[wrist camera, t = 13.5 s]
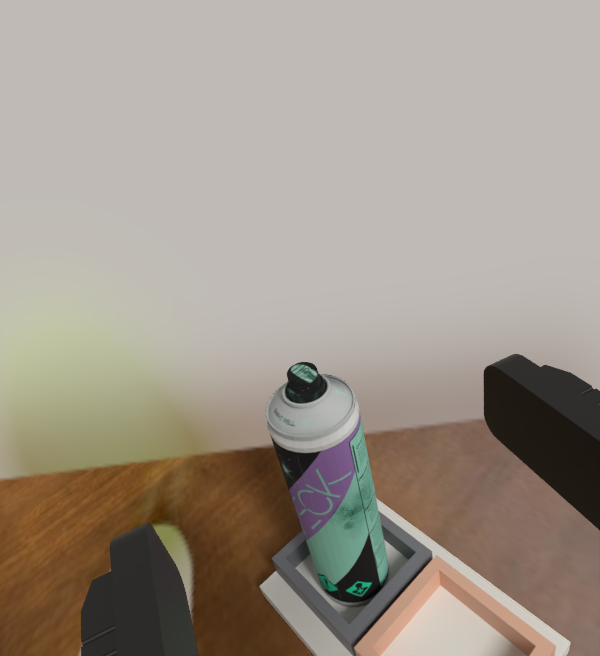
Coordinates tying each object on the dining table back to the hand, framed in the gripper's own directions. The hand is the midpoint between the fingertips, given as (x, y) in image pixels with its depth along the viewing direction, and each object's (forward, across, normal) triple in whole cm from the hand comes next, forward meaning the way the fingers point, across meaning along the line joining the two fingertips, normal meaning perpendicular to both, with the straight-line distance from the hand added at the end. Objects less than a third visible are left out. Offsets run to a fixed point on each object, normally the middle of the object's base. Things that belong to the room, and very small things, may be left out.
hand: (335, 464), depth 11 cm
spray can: (+14, -3, +28) cm, 32 cm away
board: (+10, -4, +29) cm, 31 cm away
